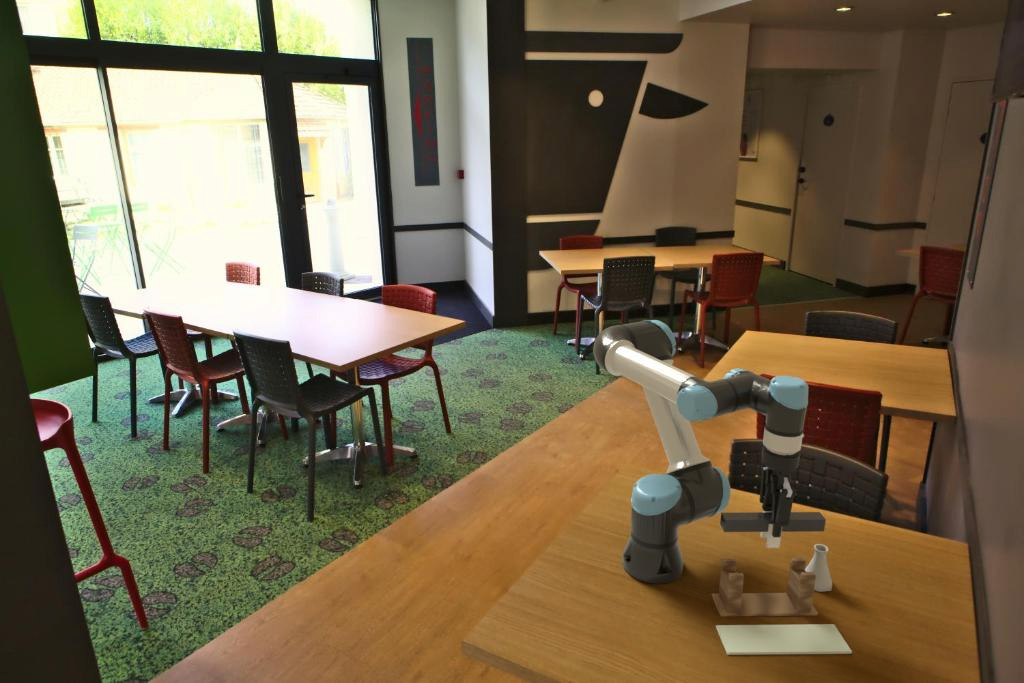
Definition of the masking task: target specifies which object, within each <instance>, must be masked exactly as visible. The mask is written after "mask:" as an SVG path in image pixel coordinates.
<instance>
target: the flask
mask: <svg viewBox="0 0 1024 683" xmlns="http://www.w3.org/2000/svg"><path fill="white" fill-rule="evenodd" d="M813 550H814V554H813V556H812V558H811V560H810V561H809V563H808V565H806V566H805V571H806V572H814V573H815V574H816V579H815V586H814V592H815V591H816V592H820V593H821V592H831V591H832V589H833V581H832V577H831V574H830V570H829V566H828V563H827V562H828V561H827V555H828V553H829V547H828V546H826V545H825V544H823V543H817V544H814V546H813Z"/></svg>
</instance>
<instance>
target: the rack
mask: <svg viewBox="0 0 1024 683" xmlns="http://www.w3.org/2000/svg"><path fill="white" fill-rule="evenodd" d="M806 563H807V560H806V558H805V557H791V559H790V565H789V574H788V579H787V580H788V581H787V587H786V588H787V589H786V592H753V593H752V592H747V593H745V592H743V590H744V589H743V588H744V580H745V578H744V577H745V575H744V573H743V572H737V570H736V569H737V560H736V558H722V559H721V564H720V565H721V566H720V567H721V568H720V577H719V578H720V579H719V588H718V593H711V597H712V599H713V601H714V602H713V603H714V604H715V607H716V609H717V611H718V614H719V616H720V617H776V616H777V617H780V616H781V617H785V616H786V617H787V616H789V617H790V616H792V617H793V616H799V617H800V616H801V617H804V616H805V617H806V616H807V617H808V616H810V617H811V616H819V612H818V611H817V609H816V607H815V606H814V604H813V599H814V592H815V590H814V586H815V579H816V574H815V573H814V572H806V571H805V569H806V566H807V565H806Z"/></svg>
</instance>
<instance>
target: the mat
mask: <svg viewBox="0 0 1024 683" xmlns="http://www.w3.org/2000/svg"><path fill="white" fill-rule="evenodd" d="M715 629H716V630H717V631H716V632H717V634H718V636H719V638H720V641H721V643H722V646H723V648H724V650H725V653H726V655H727V656H728V655H732V656H733V655H734V656H735V655H737V656H740V655H741V656H742V655H744V656H745V655H752V656H753V655H838V654H839V655H840V654H841V655H850V654H853V650H852V649H851V648H850V647H849V645H848V643H847V642H846V641H845V639H844V637H843V636H842V634H841V633H840V631H839V630H838V628H837V627H836V624H832V623H831V624H829V623H828V624H826V623H825V624H823V623H821V624H820V623H819V624H815V623H814V624H813V623H812V624H809V623H807V624H803V623H802V624H729V625H728V624H727V625H726V624H725V625H724V624H723V625H722V624H721V625H719V624H716V625H715Z"/></svg>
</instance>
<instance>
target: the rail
mask: <svg viewBox="0 0 1024 683" xmlns="http://www.w3.org/2000/svg"><path fill="white" fill-rule="evenodd" d="M768 520H772V512H763V511H761V512H752V511H751V512H720V521H719V522H720V524H719V525H720V526H721V528H722V531H723V532H724V533H760V532H768V527H769V523H768ZM826 522H827V520H826V518H825V517H824V516H823V514H822V513H821V512H820V511H799V512H798V511H795V512H794V511H791V514H790V519H789V525H788V526H782V532H783V533H784V532H786V533H787V532H789V533H791V532H792V533H793V532H794V533H797V532H798V533H800V532H801V533H802V532H807V533H808V532H811V533H812V532H825V529H826V528H825V527H826Z"/></svg>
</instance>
